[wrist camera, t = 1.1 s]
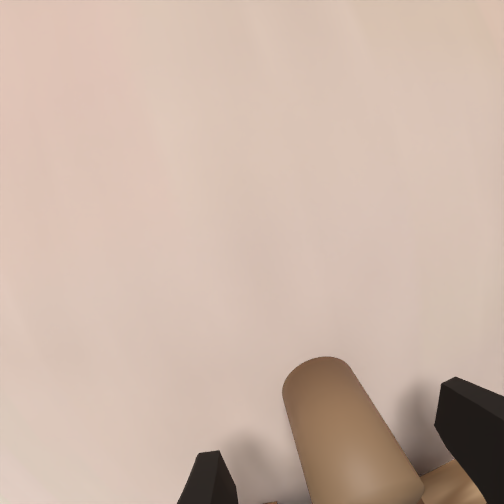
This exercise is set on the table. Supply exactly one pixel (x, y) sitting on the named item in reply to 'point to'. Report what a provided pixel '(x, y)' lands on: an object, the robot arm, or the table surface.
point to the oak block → (450, 486)
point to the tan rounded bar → (345, 439)
